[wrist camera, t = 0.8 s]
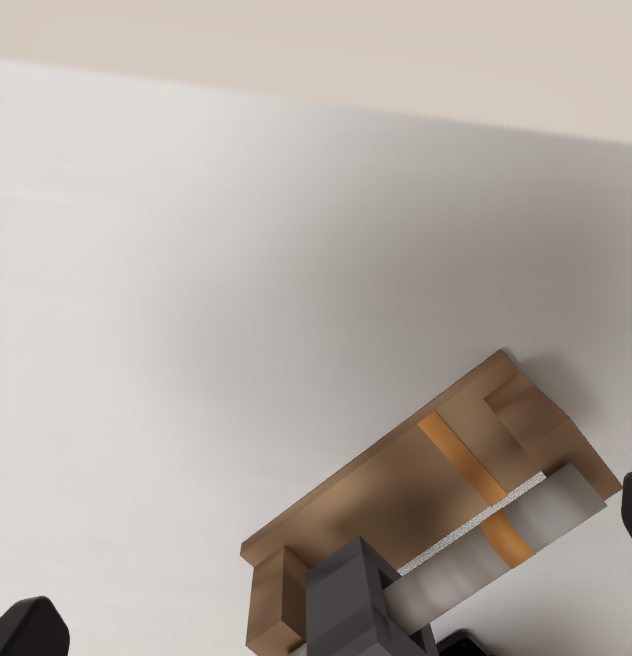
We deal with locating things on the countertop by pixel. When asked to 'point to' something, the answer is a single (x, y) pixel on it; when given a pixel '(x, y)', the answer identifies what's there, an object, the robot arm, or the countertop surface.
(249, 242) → the countertop surface
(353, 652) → the charcoal grey block
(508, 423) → the rail
